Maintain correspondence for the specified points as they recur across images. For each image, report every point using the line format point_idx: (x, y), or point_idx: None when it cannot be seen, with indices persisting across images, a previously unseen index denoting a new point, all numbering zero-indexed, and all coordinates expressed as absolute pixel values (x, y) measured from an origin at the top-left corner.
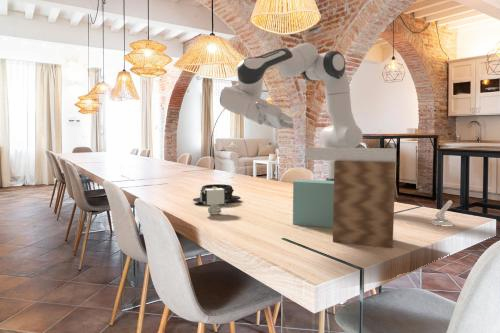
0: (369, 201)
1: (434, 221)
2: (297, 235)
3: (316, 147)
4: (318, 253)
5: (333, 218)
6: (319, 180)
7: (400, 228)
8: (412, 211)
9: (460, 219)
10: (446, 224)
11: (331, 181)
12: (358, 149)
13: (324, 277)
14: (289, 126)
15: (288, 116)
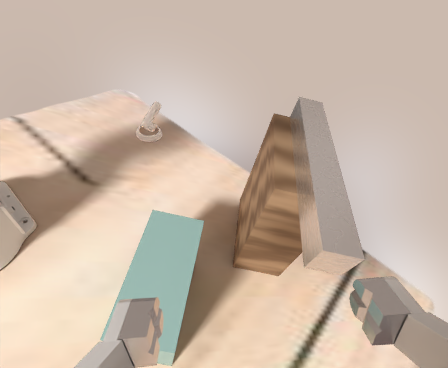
0: None
1: (152, 137)
2: (262, 341)
3: (324, 224)
4: (340, 298)
5: (292, 261)
6: (136, 263)
7: (179, 178)
8: (56, 136)
9: (120, 110)
10: (161, 131)
11: (158, 233)
12: (332, 145)
13: (410, 290)
14: (157, 345)
15: (421, 310)
